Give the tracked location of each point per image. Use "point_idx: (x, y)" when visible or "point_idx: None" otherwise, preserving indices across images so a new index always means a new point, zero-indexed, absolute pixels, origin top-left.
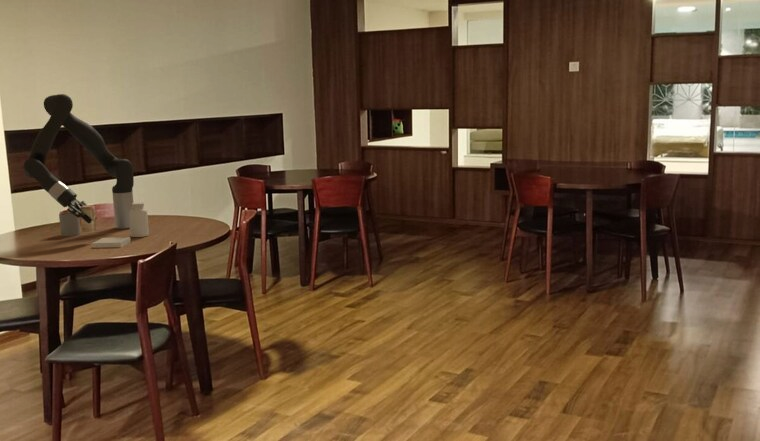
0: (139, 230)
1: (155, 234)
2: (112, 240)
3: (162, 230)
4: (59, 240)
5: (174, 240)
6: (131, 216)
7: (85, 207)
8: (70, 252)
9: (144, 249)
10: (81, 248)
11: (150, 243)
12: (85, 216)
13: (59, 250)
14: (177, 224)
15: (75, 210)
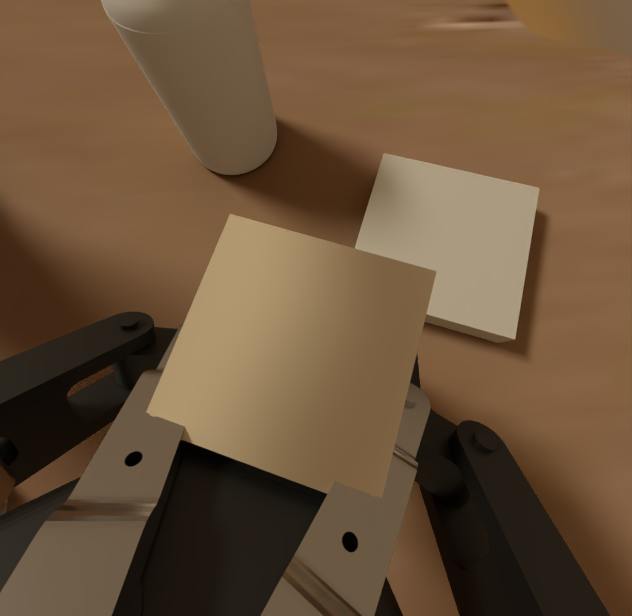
0: (271, 106)
1: None
2: (459, 232)
3: (135, 63)
4: None
5: (422, 14)
6: (225, 44)
7: (412, 370)
8: (616, 465)
9: (613, 106)
10: (495, 406)
11: (461, 91)
12: (418, 380)
13: None
14: (15, 19)
15: (572, 593)
